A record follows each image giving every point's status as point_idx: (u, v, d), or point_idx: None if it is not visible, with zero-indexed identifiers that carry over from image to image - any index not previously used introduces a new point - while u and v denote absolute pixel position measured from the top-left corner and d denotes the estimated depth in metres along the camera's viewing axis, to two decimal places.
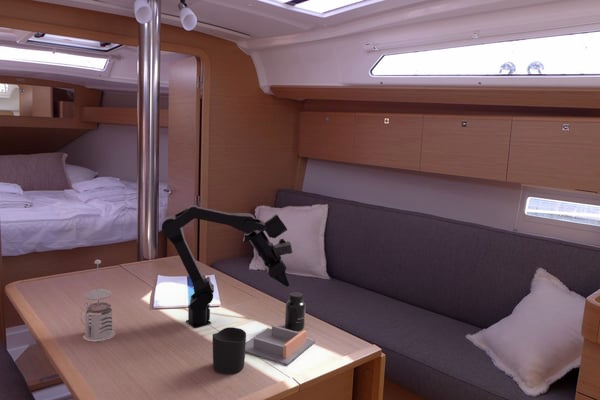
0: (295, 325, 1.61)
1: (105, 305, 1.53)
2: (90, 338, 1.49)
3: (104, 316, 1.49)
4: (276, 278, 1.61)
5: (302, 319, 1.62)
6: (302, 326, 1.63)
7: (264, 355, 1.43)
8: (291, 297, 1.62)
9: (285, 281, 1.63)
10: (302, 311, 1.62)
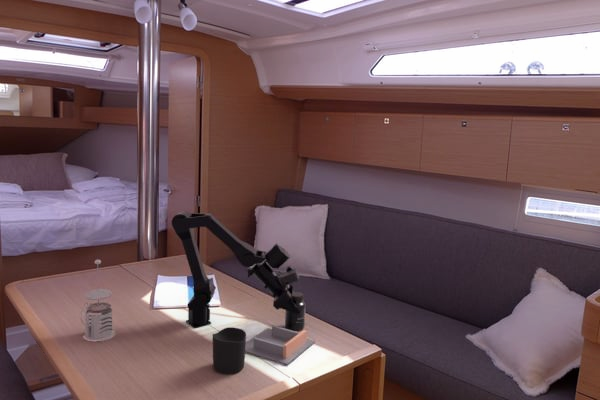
0: (295, 325, 1.61)
1: (105, 305, 1.53)
2: (90, 338, 1.49)
3: (104, 316, 1.49)
4: (284, 308, 1.59)
5: (302, 319, 1.62)
6: (302, 326, 1.63)
7: (264, 355, 1.43)
8: None
9: (295, 309, 1.60)
10: (302, 311, 1.62)
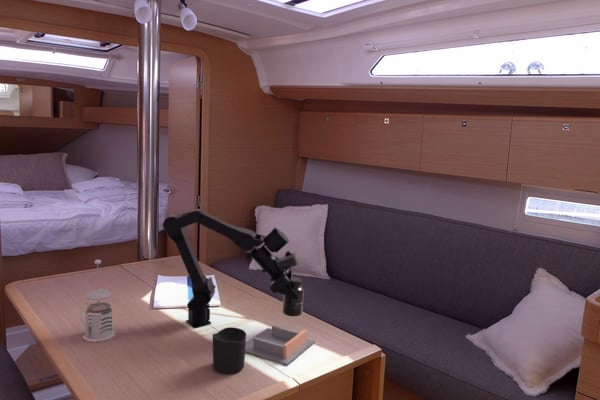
0: (292, 310, 1.60)
1: (105, 305, 1.53)
2: (90, 338, 1.49)
3: (104, 316, 1.49)
4: (282, 292, 1.57)
5: (300, 304, 1.60)
6: (300, 311, 1.61)
7: (264, 355, 1.43)
8: None
9: (292, 294, 1.58)
10: (300, 296, 1.60)
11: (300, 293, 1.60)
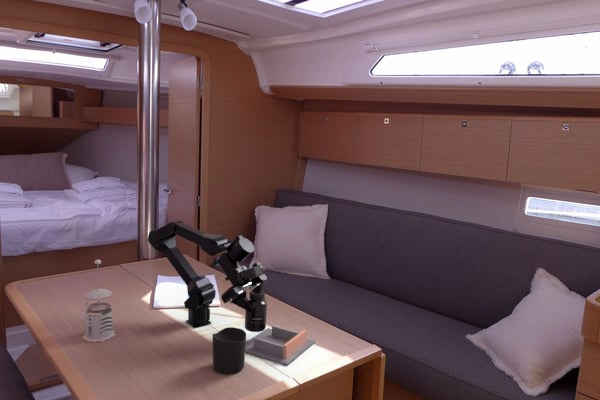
0: (249, 324, 1.50)
1: (105, 305, 1.53)
2: (90, 338, 1.49)
3: (104, 316, 1.49)
4: (237, 304, 1.49)
5: (258, 320, 1.50)
6: (258, 328, 1.50)
7: (264, 355, 1.43)
8: (250, 294, 1.51)
9: (248, 307, 1.49)
10: (258, 311, 1.49)
11: (258, 308, 1.49)
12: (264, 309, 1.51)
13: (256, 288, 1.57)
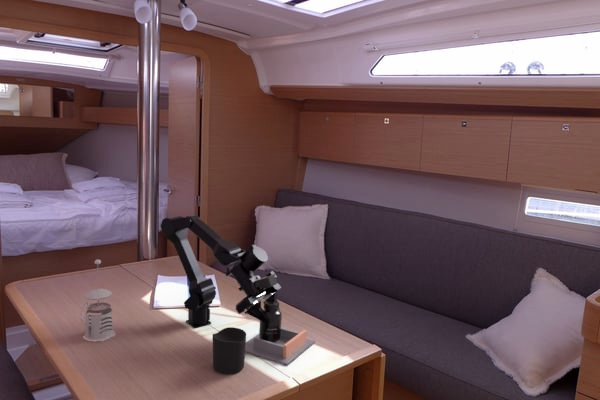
0: (264, 335, 1.48)
1: (105, 305, 1.53)
2: (90, 338, 1.49)
3: (104, 316, 1.49)
4: (252, 314, 1.47)
5: (273, 330, 1.48)
6: (273, 338, 1.48)
7: (264, 355, 1.43)
8: (264, 304, 1.49)
9: (263, 318, 1.46)
10: (273, 322, 1.47)
11: (273, 318, 1.47)
12: (279, 319, 1.48)
13: (270, 298, 1.54)
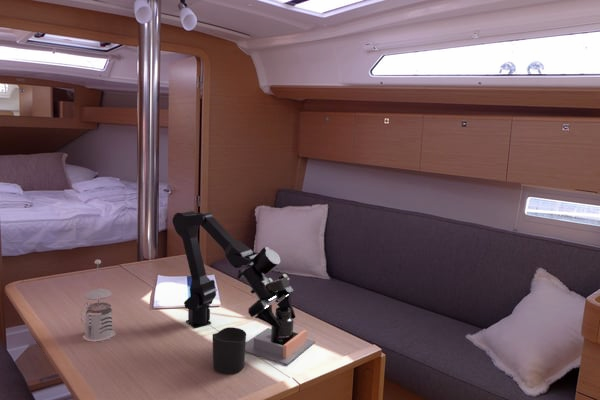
0: (276, 342, 1.46)
1: (105, 305, 1.53)
2: (90, 338, 1.49)
3: (104, 316, 1.49)
4: (262, 318, 1.44)
5: (285, 338, 1.46)
6: None
7: (264, 355, 1.43)
8: (276, 311, 1.47)
9: (274, 322, 1.43)
10: (285, 329, 1.45)
11: (285, 326, 1.45)
12: (291, 327, 1.46)
13: (284, 300, 1.53)
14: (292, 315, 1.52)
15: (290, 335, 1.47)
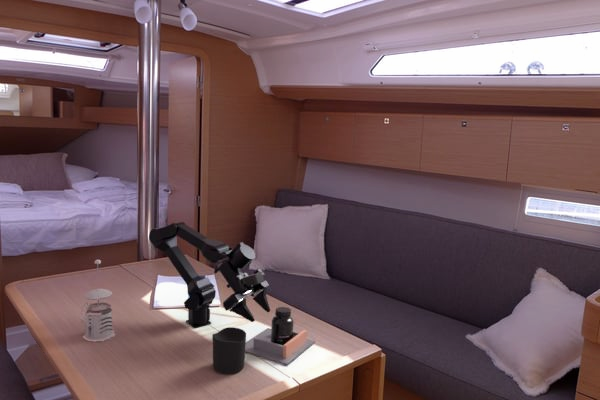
0: (276, 342, 1.46)
1: (105, 305, 1.53)
2: (90, 338, 1.49)
3: (104, 316, 1.49)
4: (237, 312, 1.48)
5: (285, 338, 1.46)
6: None
7: (264, 355, 1.43)
8: (276, 311, 1.47)
9: (248, 316, 1.48)
10: (285, 329, 1.45)
11: (285, 326, 1.45)
12: (291, 327, 1.46)
13: (259, 294, 1.58)
14: (267, 309, 1.56)
15: (290, 335, 1.47)
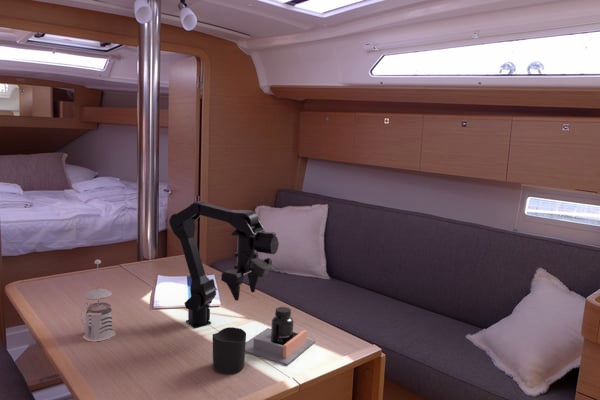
0: (276, 343, 1.46)
1: (105, 305, 1.53)
2: (90, 338, 1.49)
3: (104, 316, 1.49)
4: (229, 285, 1.51)
5: (285, 338, 1.46)
6: None
7: (264, 355, 1.43)
8: None
9: (235, 294, 1.51)
10: (285, 329, 1.45)
11: (284, 326, 1.45)
12: (291, 327, 1.46)
13: (255, 273, 1.60)
14: (252, 289, 1.60)
15: (290, 335, 1.47)
